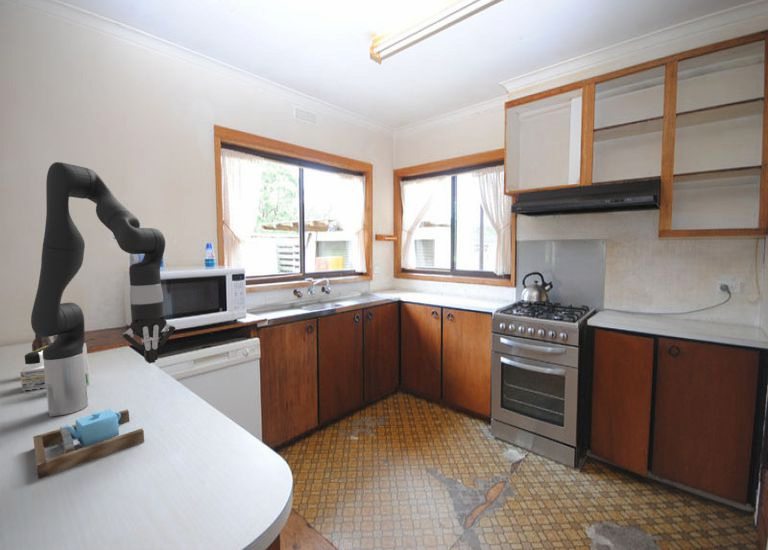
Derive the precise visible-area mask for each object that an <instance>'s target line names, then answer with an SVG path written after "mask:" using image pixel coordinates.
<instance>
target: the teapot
mask: <svg viewBox="0 0 768 550" xmlns="http://www.w3.org/2000/svg"><path fill="white" fill-rule="evenodd" d="M119 412H120V411H112V410H111V409H109V408H108V409H106V410H102V411H96V412H93V413H92V414H89V415H85V416H84V417H83V416H82V417H79V418H77V419H75V424H76V430H77V431H75V430H74V428H73V427H72V425H68V426H67V425H64V427H63V426H60V427H61V428H66V429H68V430H69V431H70V433H71V435H72V436H73V437H74V438H73V439H76V440H77V442H78V443H79V444H80V445H81V446H82V448H84V447H87V446H90V445H93V444H96V443H99V442H102V441H105V440H108V439H111V438H114V437H117V436H120V431H119V428H120V424H118V421H119V419H120V417H121V414H120V413H119ZM116 414H118V417H117V415H116Z"/></svg>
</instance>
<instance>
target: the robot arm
mask: <svg viewBox="0 0 768 550" xmlns="http://www.w3.org/2000/svg"><path fill="white" fill-rule="evenodd" d="M45 181H46V182H45V184H46V185H45V186H46V188H45V189H46V191H45V192H46V193H45V195H46V203H45V204H46V217H45V227H44V236H43V242H42V249H41V258H40V259H41V260H40V261H41V262H40V272H39V278H38V279H39V280H38V283H37V284H38V285H37V289H36V295H35V298H34V302H33V306H32V310H31V315H30V316H31V317H30V324H31V329H32V331H33V333H34V335H35V334H37V335H38V336H40V337H49V338H50V337H54V336H57V337H56V339H55V340H54V341H53V342H52V344H50V345H49V346H48V347H46V348H45V349H44V350H43V362H44V371H45V380H46V382H45V385H46V388H45V393H46V394H45V395H46V402H47V411H48V416H49V417H50V418H52V417H55V416H63V415H69V414H72V413H76V412H79V411H81V410H84V409H85V408H87V407H88V406H89V401H88V400H89V398H88V389H87V385H86V377H85V367H84V356H83V346H84V343H85V341H86V335H85V316H84V313H83V309H82V308H81V307H80V306H79V305H78V304H77V303H74V302H62V301H61V300H62V297H63V294H64V292H65V289H66V288H67V286H68V285H69V284H70V283H71V281H72V280H73V279H74V278H75V277H76V275H77V273H79V271H80V269H81V268H82V266H83V264H84V263H83V262H84V255H85V248H86V247H85V239H84V238H83V236H82V233H81V232H80V231H79V229H78V228H77V226H76V225H75V223H74V221H73V219H72V216H71V214H70V209H69V208H70V207H69V202H70V198H77V199H84V200H85V199H87V200H89V201H91V202H93V203H95V204H96V206H95V213H96V217H97V218H98V220H99V221H100V222H101V223H102V225H104V226H105V227H106V228H107V229H108V230H109V231H110V232H112V235H113V236H114V239H115V240H116V242H117V246H118V247H119V248H120V249H121V250H122V251H123V252H125V253H127V254H131V255H143V258H142V260H141V261H139V262H135V263H133V264H131V265H130V266H129V268H128V271H129V272H128V274H129V288H130V289H129V300H130V302H129V303H130V315H131V317H130V319H131V322H130V324H129V328H128V330H126V331H124V332H122V333H120V334H121V337H122V338H123V339H124V340H126V341H127V342H128V343H130V344H131V346H133V347H135V348H136V349H137V350H139V351H141V350H142V351H143V354H144V355H143V356H144V361H146V362H147V363H148V364H155V363H156V361H158V357H159V355H158V348H159V347H161V346H162V347H163V346H164V345H165V344H166V342H167V341H168V340H169V338H170V337H171V335H173V333H174V332H175V330H176V327H175V326H174V325H171V324H168V322H167V320H166V319H165V310H164V294H163V288H162V280H161V278H162V277H161V266H162V262H163V258H164V253H165V249H166V239H165V236H164V234H163V232H162V231H160V230H159V229H157V228H151V227H147V228H146V227H141V223H140V221H139V219H138V218H137V216H135V215H134V214H133V213H132V212H131V211H130V210H129V209H128V208H126V207H125V206H124V205H123V204H122V203H121V202H120V201H119V200H118V199H117V197H115V196H114V194H113V192H112V191H111V190H110V188H109V187H108V186H107V185H106V183H105V182H104V180H103V179H102V178H101V176H100V175H99V174H98V173H96V172H95V171H94V170H93V169H90V168H88V167H85V166H80V165H74V164H71V163H66V162H62V161H61V162H60V161H56V162H53V163H52V164H51V165H50V166H49V168H48V170H47V173H46V180H45ZM61 302H62V303H61ZM162 331H164V332H163V333H162ZM161 333H162V334H161ZM134 334H136V335H137V336H138V337H139V338H140V339H141V343H139V342H138V341H137V340H135V338H134V337H135V336H134ZM159 336H160V338H159ZM85 344H86V343H85Z"/></svg>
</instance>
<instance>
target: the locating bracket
mask: <svg viewBox="0 0 768 550" xmlns="http://www.w3.org/2000/svg"><path fill="white" fill-rule="evenodd" d="M118 412H119V413H120V414H121V417H120V419H119V421H118V424H119V425H121V424H124V423H127V422H130V414H129V413H130V412H129V410H128V409H125V410H121V411H118ZM116 415H117V417H118V414H116ZM71 426H72V427H73V428H74V430H75V431H77V430H76V423H75V424H72V425H71ZM70 434H71V433H70ZM71 437H72V440H73V439H75V438H74V437H73V436H72V435H71ZM32 438H33V446H34V453H35V454H34V455H35V462H36V469H37V471H36V472H37V478H38V479H43V478H45V477H48V476H51V475H53V474H56V473H60V472H62V471H65V470H68V469H71V468H73V467H76V466H77V467H78V466H79V465H83V464H84V463H88V462H91V461H94V460H96V459H98V458H99V459H100V458H101V457H105V456H107V455H110V454H113V453H116V452H119V451H122V450H124V449H127V448H130V447H133V446H135V445H138V444H141V443H144V442H145V433H144V429H143V428H139V429H136V430H132V431H129V432H126V433H124V434H119V435H118V436H116V437H113V438H111V439H108V440H105V441H102V442H99V443H96V444H93V445H90V446H87V447H81V448H78V449H74V451H71V452H68V453H65V454H64V453H63V454H60V455H57V456H54V457H50V458H47V457H46V452H45V448H48V447H51V446H53V445H57V444H60V443H61V434H60V428H58V429H56V430H52V431H48V432H44V433H40V434H37V435H35V436H34V435H33V437H32ZM46 458H47V459H46ZM38 479H37V480H38Z"/></svg>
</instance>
